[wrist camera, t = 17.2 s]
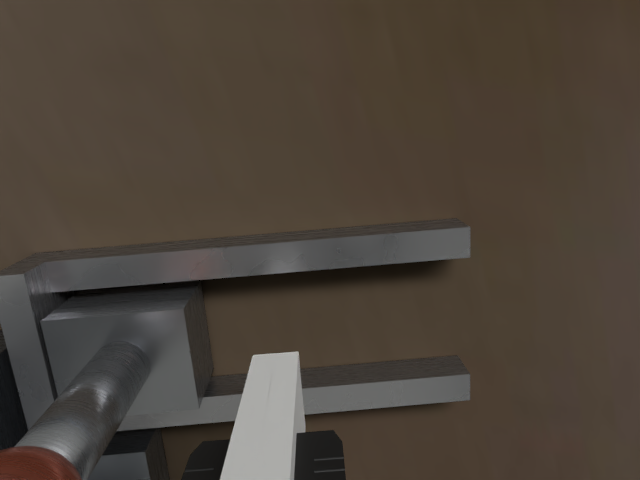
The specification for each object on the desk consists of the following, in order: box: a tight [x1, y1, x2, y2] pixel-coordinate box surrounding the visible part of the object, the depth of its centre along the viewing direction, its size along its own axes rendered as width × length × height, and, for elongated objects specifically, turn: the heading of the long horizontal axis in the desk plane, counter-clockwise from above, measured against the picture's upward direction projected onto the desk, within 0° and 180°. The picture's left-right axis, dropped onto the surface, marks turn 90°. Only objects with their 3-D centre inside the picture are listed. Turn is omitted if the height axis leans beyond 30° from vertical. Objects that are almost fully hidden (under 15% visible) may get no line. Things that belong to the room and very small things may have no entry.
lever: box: [0, 281, 214, 480], centre depth 15 cm, size 5×4×11 cm
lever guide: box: [0, 218, 470, 431], centre depth 19 cm, size 17×7×3 cm, turn 94°
